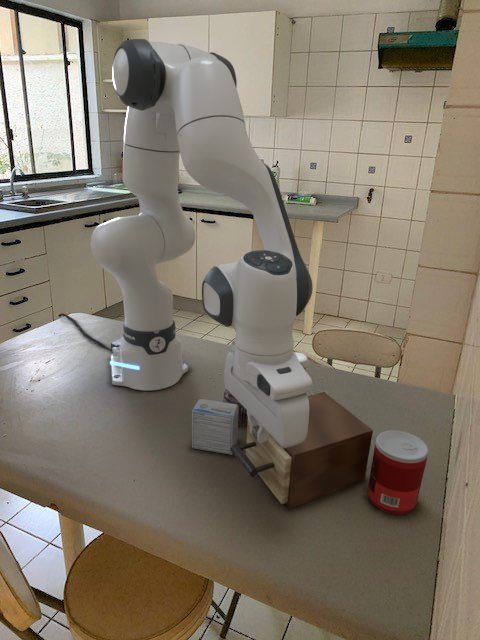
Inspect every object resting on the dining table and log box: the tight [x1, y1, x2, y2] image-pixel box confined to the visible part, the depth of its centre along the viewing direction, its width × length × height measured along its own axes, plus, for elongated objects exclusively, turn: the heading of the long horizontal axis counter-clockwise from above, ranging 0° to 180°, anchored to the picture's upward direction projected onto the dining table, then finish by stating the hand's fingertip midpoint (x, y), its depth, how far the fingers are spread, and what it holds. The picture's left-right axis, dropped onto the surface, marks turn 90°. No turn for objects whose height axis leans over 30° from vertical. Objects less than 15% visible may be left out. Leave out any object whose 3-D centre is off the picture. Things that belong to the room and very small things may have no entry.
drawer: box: [231, 419, 292, 505], centre depth 79 cm, size 19×12×9 cm, turn 117°
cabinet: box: [284, 391, 374, 510], centre depth 81 cm, size 16×14×11 cm
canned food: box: [367, 429, 429, 515], centre depth 75 cm, size 8×8×11 cm
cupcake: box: [221, 388, 248, 426], centre depth 97 cm, size 10×10×10 cm
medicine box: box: [191, 398, 239, 456], centre depth 87 cm, size 8×4×9 cm, turn 77°
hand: (259, 437), depth 75 cm, fingers closed
